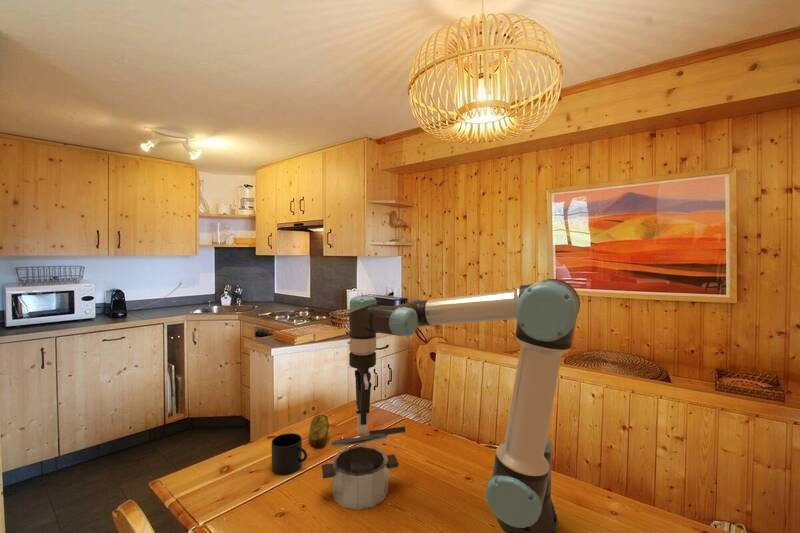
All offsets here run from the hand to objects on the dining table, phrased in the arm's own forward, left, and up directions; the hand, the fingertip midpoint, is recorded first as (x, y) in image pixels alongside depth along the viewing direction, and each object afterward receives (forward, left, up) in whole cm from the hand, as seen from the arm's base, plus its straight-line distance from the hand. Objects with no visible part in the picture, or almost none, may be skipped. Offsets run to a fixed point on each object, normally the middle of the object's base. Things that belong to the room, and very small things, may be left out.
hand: (362, 433), depth 107 cm
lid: (+5, -3, -5) cm, 7 cm away
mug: (+22, +20, -19) cm, 35 cm away
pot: (+4, 0, -19) cm, 19 cm away
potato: (+38, +10, -19) cm, 43 cm away
